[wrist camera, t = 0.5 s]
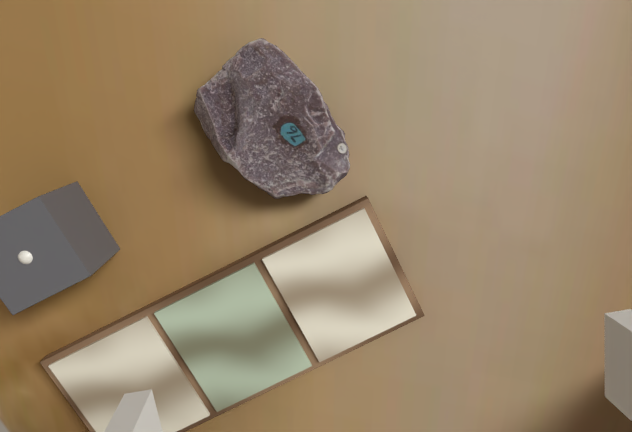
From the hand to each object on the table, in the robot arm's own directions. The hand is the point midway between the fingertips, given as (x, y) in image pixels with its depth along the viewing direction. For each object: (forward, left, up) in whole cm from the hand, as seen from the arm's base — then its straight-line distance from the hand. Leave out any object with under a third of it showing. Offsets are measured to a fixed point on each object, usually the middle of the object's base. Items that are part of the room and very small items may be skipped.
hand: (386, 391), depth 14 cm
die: (-7, -19, -25) cm, 32 cm away
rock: (-7, -1, -25) cm, 26 cm away
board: (+6, -11, -25) cm, 28 cm away
